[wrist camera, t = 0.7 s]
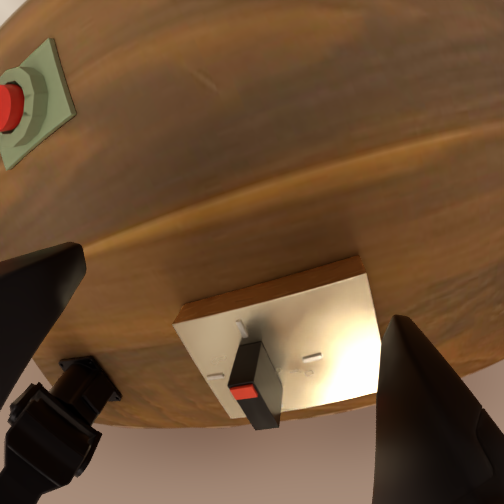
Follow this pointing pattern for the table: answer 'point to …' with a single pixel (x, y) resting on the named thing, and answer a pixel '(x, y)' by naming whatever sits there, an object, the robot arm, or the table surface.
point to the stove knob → (256, 386)
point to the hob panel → (291, 335)
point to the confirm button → (11, 106)
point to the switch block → (36, 102)
